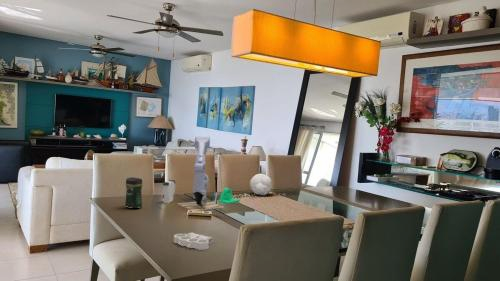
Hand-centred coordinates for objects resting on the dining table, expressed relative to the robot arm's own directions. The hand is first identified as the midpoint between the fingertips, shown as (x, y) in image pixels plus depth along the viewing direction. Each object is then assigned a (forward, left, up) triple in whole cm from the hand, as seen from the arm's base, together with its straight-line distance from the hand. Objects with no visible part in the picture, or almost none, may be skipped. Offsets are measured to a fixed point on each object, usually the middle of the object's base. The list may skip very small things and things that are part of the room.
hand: (198, 204), depth 238 cm
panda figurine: (-20, -11, -3) cm, 23 cm away
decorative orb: (-21, +64, -3) cm, 67 cm away
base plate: (-3, +3, -3) cm, 5 cm away
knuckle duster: (+57, -32, -4) cm, 65 cm away
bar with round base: (0, +3, -2) cm, 3 cm away
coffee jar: (-19, -34, -3) cm, 39 cm away
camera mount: (-5, +26, -4) cm, 26 cm away
